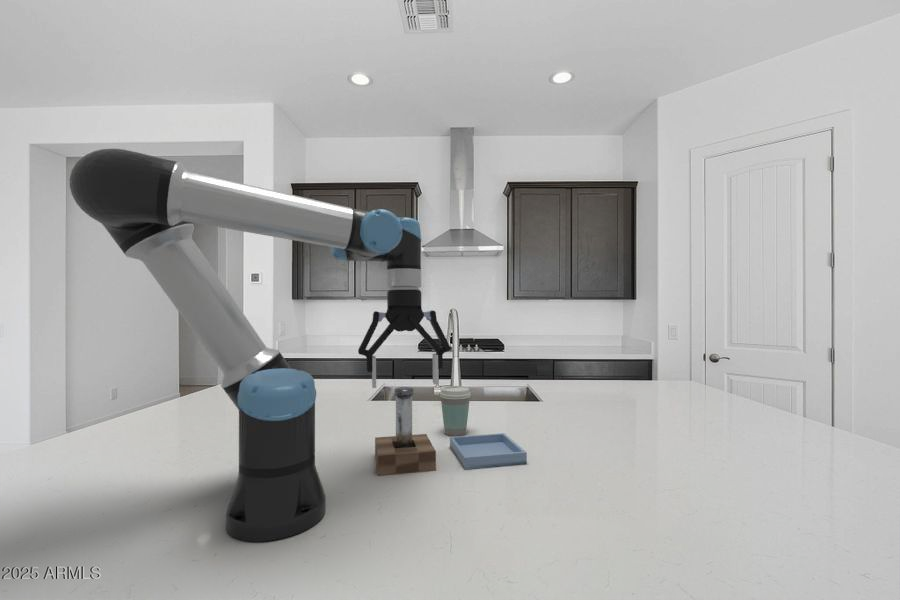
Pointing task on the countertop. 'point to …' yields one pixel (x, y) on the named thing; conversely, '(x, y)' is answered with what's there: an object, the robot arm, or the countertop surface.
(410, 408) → the pin
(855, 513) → the countertop surface
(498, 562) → the countertop surface
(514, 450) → the tray
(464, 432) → the coffee cup
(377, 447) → the socket block
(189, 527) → the countertop surface
